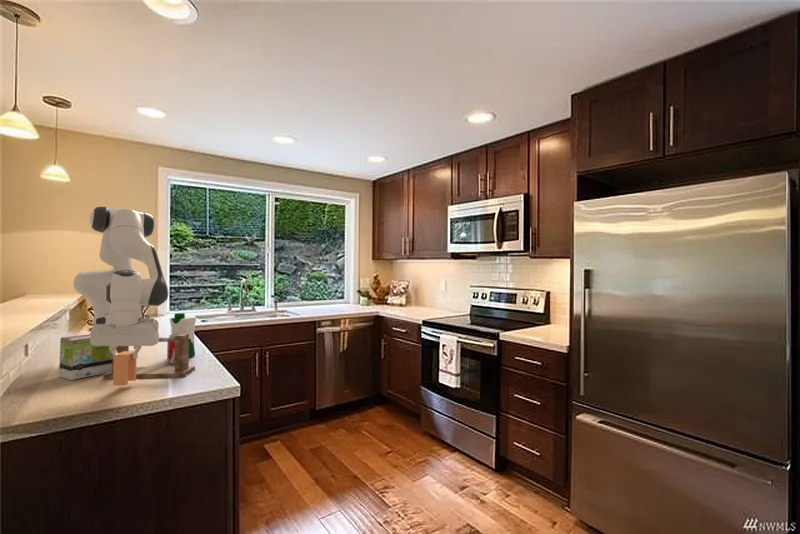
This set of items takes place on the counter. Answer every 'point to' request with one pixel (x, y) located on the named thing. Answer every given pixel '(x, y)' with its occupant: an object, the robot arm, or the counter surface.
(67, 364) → the tea box
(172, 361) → the soda can
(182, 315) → the milk carton
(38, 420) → the counter surface
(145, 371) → the hanger stand
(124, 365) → the tall peach brick
